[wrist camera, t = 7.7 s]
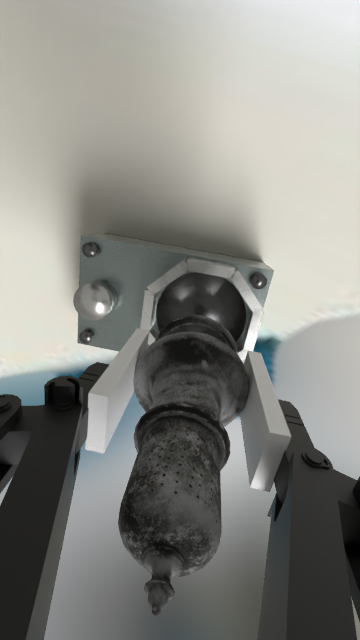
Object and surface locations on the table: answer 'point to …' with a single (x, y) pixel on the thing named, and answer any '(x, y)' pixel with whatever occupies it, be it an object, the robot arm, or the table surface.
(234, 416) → the dark grey tapered piece
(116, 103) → the table surface
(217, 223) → the table surface
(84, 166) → the table surface
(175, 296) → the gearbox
